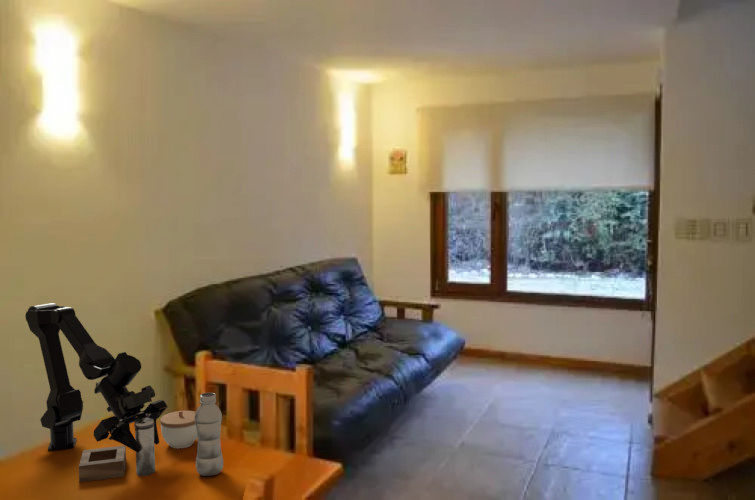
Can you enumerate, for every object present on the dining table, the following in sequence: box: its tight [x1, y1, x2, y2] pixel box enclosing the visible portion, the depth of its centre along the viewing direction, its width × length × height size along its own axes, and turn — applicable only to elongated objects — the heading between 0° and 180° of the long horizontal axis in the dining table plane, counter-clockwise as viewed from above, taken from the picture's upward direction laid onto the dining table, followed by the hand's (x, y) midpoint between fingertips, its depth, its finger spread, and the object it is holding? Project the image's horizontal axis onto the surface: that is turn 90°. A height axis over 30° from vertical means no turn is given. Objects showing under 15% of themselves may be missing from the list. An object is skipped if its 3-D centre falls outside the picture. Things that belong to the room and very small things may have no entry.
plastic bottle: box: [194, 392, 224, 477], centre depth 158 cm, size 6×7×20 cm
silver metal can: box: [133, 418, 156, 477], centre depth 159 cm, size 5×5×13 cm
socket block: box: [78, 445, 127, 483], centre depth 160 cm, size 10×10×4 cm
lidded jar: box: [159, 410, 198, 450], centre depth 177 cm, size 11×11×9 cm
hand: (148, 447), depth 158 cm, fingers open, 5 cm apart
